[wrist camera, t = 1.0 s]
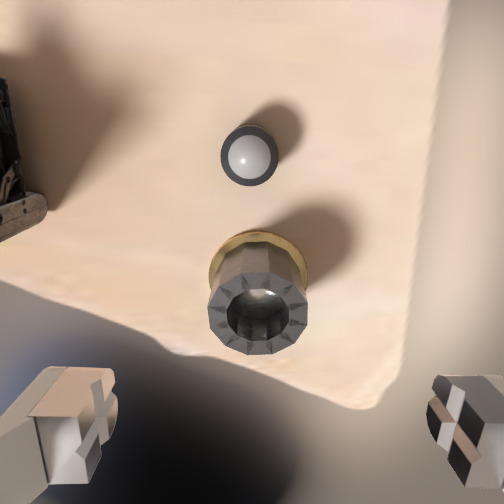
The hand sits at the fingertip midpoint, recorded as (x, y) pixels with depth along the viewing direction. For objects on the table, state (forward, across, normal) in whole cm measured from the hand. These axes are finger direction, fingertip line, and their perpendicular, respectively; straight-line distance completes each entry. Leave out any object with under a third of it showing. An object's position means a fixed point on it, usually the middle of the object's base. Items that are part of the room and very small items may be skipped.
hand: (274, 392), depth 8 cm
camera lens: (+33, 0, -5) cm, 33 cm away
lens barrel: (+34, -1, +11) cm, 36 cm away
